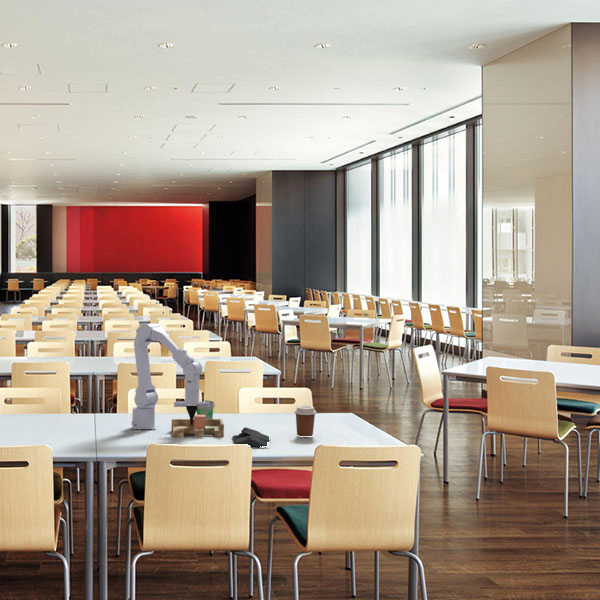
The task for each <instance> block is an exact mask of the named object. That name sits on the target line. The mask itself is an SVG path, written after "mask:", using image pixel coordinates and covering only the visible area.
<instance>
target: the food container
mask: <svg viewBox="0 0 600 600" xmlns="http://www.w3.org/2000/svg"><path fill="white" fill-rule="evenodd" d="M204 402H210V407H197V411H196V415H205V416H206V419H214V418H213V416H214V409H215V408H216V406H215V405H216V404H215V402H214V401H212V400H207V399H205V400H204Z"/></svg>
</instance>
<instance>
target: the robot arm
mask: <svg viewBox="0 0 600 600" xmlns="http://www.w3.org/2000/svg"><path fill="white" fill-rule="evenodd" d="M135 331H136V332H135V333H136V335H135V338H134V341H133V347H134V357H135V358H134V359H135V366H136V367H135V368H136V374H137V383H138V385H137V387H136V388H135V390H134V393H135V396H134V399H133V400H134V404H135V405H136V407H132V418H131V419H132V420H131V428H132V429H152V430H156V423H155V421H156V417H155V416H156V405H157V404H156V403H158V402H159V401H158V400H159V395H158V393H157V391H156V386H155V385H154V384H153V383H152V375H151V365H150V355H149V351H148V350H149V349H148V347H149V345H151V343H152V342H153V341H155V342H156V341H157V342H159V343H160V344H162V345H163V347H165V348H166V349H167V350H168V351H169V353H171V355H172V359H173V360H174V361H175V363H176V364H177V365H178V366H179V367H180V368H181V369H182V372H183V374H184V378H185V382H184V383H185V384H184V385H185V386H184V390H185V391H184V392H185V393H184V401H183V400H182V401H181V400H180V401H173V407H174V408H177V407H178V408H179V407H180V408H182V407H183V408H186V411H187V413H188V417H189V419H190V425H193V419H194V415H196V414H197V407H210V402H205V401H200V374H201V373H202V371H203V366H202V364H201V363H200V362H199V361H197V360H195V359H194V358H193V357H192V356H191V355H190V354H189V353H188V350H187V349H184V348H179V347H178V346H177V345H176V343H175V342H174V341H173V340H172V339H171V338H170V336H169V335H168V333H166V331H165V328H163V326H161V325H160V324H159V323H158V322H153V323H141V324H140V325H138V327H137V329H136V330H135ZM132 429H131V430H132Z"/></svg>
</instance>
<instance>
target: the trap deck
mask: <svg viewBox="0 0 600 600" xmlns="http://www.w3.org/2000/svg"><path fill="white" fill-rule="evenodd" d="M224 427H225V424H224V422H223V420H222V419H221V418H212V419H206V420H205V428H197V427H194V418H193V425H190V418H172V419H171V431H170V432H171V433H172V436H173V438H217V437H218V438H221V437H222V438H223V437H225V436H224V435H225V434H224V433H225V428H224Z"/></svg>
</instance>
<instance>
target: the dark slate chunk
mask: <svg viewBox="0 0 600 600" xmlns="http://www.w3.org/2000/svg"><path fill="white" fill-rule="evenodd" d="M269 437H270V436H268V435H267V434H264V433H261V432H260V431H258V430H256V429H252V428H249V427H243V428H242V430H241V432H240V433H239V434H237V435H236V434H234V435H232V437H231V438H232V441H233V442H234V443H235V444H236V445H237V444H248V445H250V446H251V447H260V446H261V447H262V446H267V442H269V441H270V442H271V439H270V440H269ZM251 447H250V448H251Z"/></svg>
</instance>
